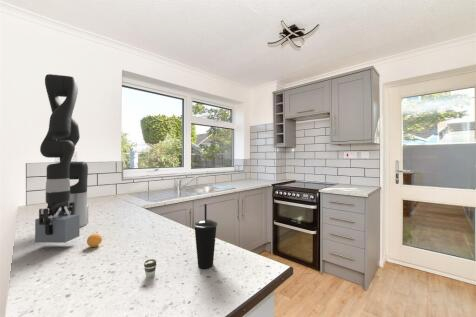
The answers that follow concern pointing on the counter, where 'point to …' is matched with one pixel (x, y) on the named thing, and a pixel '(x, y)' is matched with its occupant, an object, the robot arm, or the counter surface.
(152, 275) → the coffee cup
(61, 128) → the robot arm
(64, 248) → the counter surface
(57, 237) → the matte grey box
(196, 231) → the drinking cup
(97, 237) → the ball
